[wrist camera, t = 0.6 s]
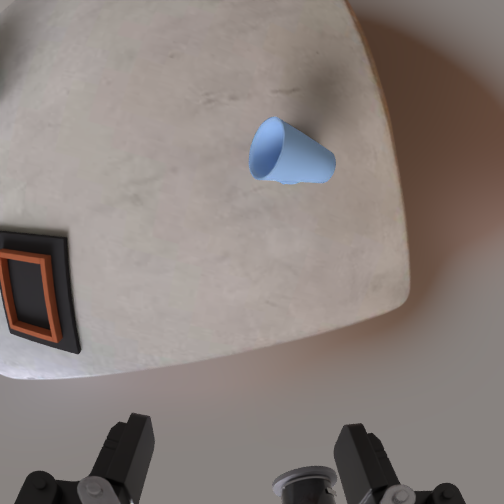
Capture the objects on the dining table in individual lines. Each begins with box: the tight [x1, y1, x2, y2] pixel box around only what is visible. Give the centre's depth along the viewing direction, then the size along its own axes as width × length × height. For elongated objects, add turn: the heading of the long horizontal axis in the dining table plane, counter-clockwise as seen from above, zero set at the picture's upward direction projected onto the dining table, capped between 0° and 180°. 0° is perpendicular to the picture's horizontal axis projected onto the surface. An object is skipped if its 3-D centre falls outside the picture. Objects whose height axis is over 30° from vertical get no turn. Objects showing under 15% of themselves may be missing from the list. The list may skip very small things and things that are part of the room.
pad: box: [0, 231, 81, 354], centre depth 30 cm, size 16×14×2 cm
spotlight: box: [249, 117, 336, 184], centre depth 24 cm, size 5×10×7 cm
